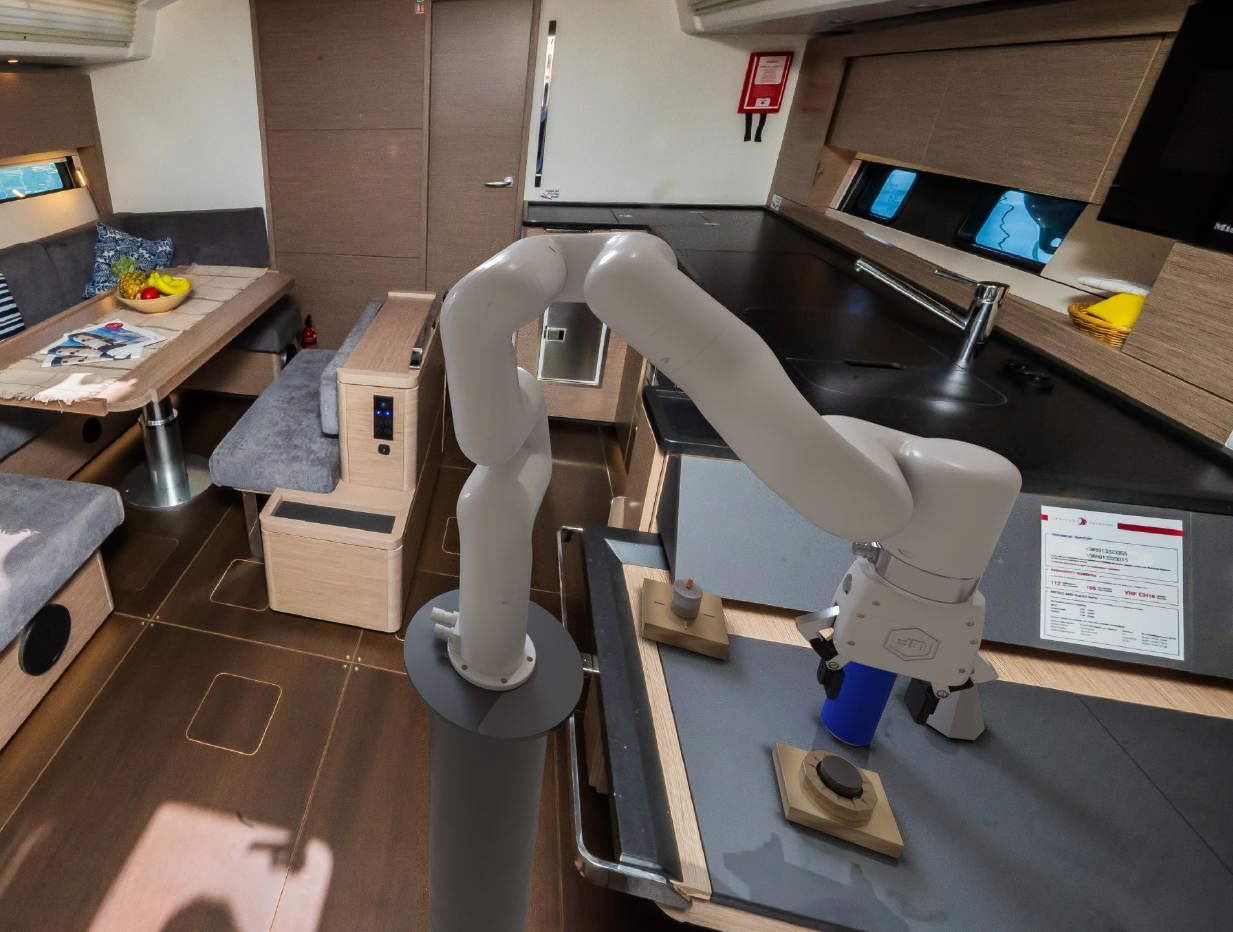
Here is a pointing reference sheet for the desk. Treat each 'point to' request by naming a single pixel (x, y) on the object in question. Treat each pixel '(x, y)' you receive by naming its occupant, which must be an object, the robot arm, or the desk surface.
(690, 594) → the knob
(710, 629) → the knob panel
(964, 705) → the flask
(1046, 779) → the desk surface
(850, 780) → the button
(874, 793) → the button block
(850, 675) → the beverage can
